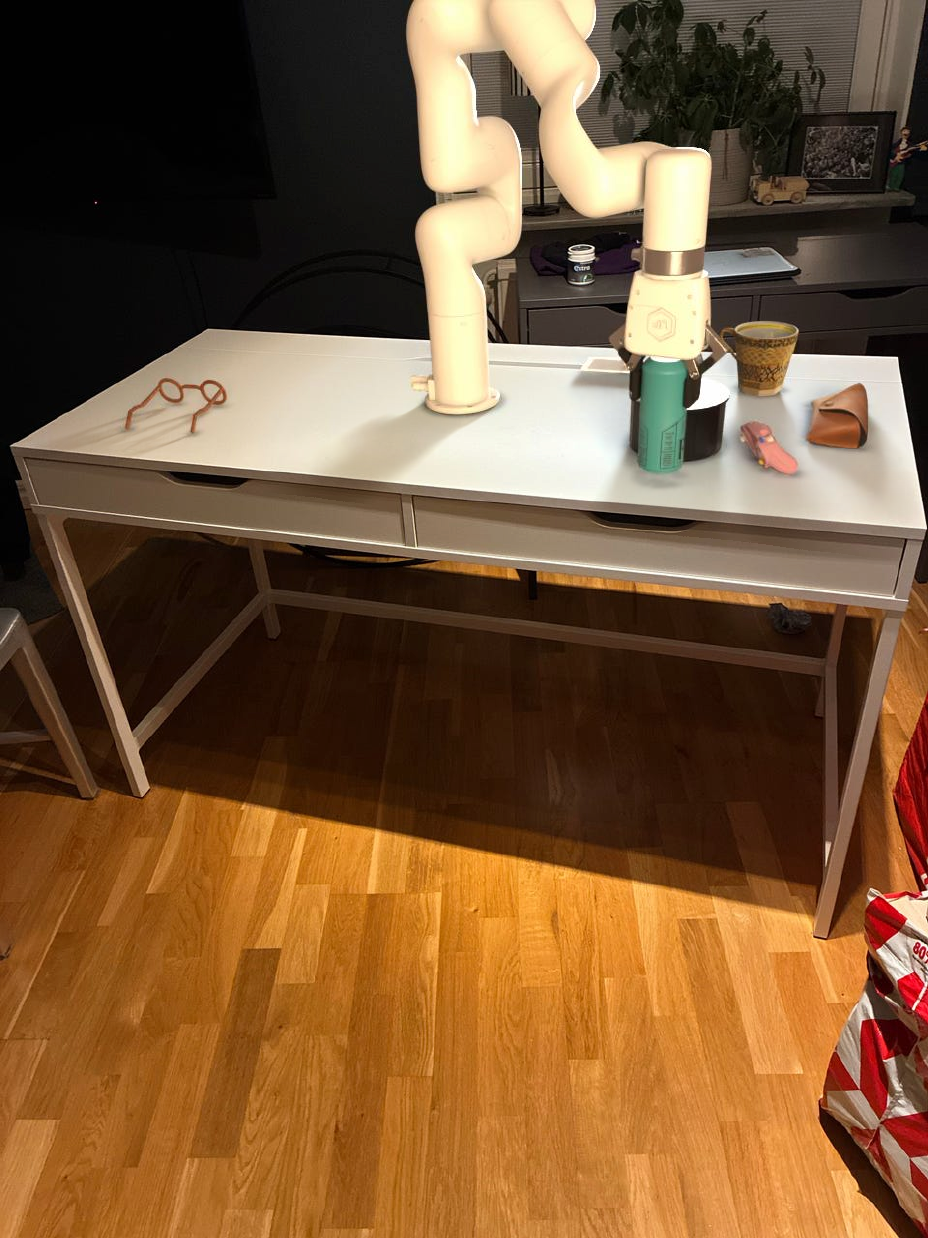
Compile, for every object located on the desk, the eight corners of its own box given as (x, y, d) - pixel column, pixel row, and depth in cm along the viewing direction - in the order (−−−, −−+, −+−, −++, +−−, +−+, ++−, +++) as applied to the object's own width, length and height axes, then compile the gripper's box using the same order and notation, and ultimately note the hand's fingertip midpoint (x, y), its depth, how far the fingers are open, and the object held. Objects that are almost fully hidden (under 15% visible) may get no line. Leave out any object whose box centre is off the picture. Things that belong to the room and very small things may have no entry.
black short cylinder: (623, 459, 136) (625, 409, 132) (636, 425, 147) (638, 378, 143) (718, 465, 133) (723, 414, 129) (724, 429, 144) (728, 381, 140)
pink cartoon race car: (747, 459, 138) (730, 420, 134) (776, 443, 137) (759, 404, 133) (771, 487, 129) (754, 447, 126) (802, 471, 128) (785, 430, 125)
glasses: (230, 406, 165) (224, 378, 162) (193, 434, 154) (186, 405, 152) (164, 403, 168) (158, 375, 166) (123, 430, 158) (116, 401, 155)
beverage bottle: (682, 485, 127) (695, 337, 116) (633, 483, 129) (641, 337, 118) (683, 465, 133) (695, 322, 122) (635, 463, 134) (643, 322, 123)
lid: (622, 414, 132) (623, 389, 131) (635, 381, 144) (636, 358, 142) (726, 419, 129) (728, 394, 127) (731, 385, 140) (733, 361, 138)
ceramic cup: (800, 386, 158) (809, 326, 152) (774, 403, 151) (782, 342, 146) (729, 373, 165) (735, 315, 159) (701, 389, 159) (706, 330, 153)
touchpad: (663, 381, 163) (664, 368, 162) (579, 376, 168) (579, 364, 167) (670, 366, 169) (671, 354, 168) (589, 362, 174) (589, 350, 173)
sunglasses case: (808, 399, 151) (836, 364, 147) (844, 422, 151) (874, 389, 147) (804, 441, 137) (835, 405, 132) (844, 468, 137) (877, 432, 133)
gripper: (594, 262, 116) (592, 401, 126) (732, 273, 108) (718, 420, 118) (619, 250, 122) (614, 384, 131) (752, 258, 114) (736, 401, 123)
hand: (663, 400), depth 125 cm, fingers closed on beverage bottle, 6 cm apart
